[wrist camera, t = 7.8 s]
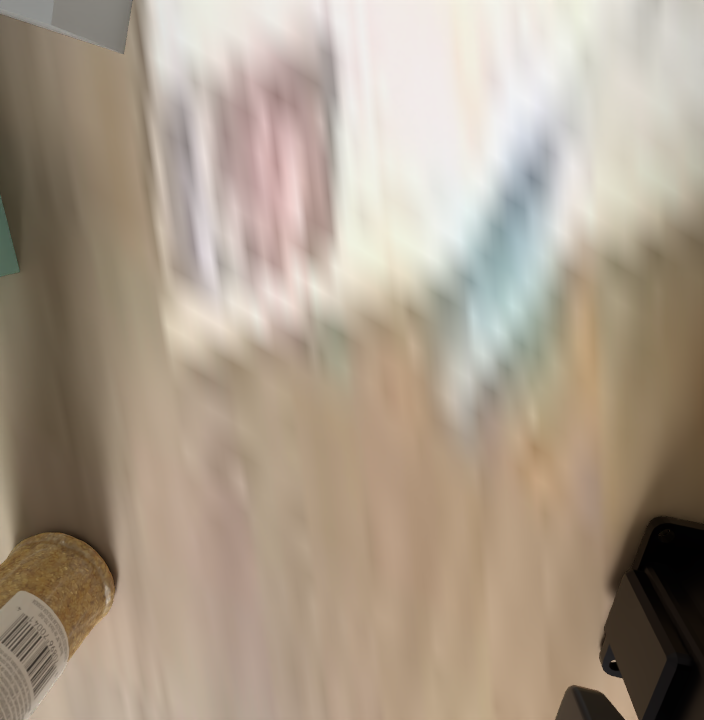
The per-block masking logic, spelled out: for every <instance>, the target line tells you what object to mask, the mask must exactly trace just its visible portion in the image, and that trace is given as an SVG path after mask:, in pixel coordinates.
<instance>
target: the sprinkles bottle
mask: <svg viewBox="0 0 704 720" xmlns="http://www.w3.org/2000/svg"><path fill="white" fill-rule="evenodd" d="M114 593H115V587H114V581H113V578H112V574H111V573H110V571H109V568H108V566H107V565H106V563H105V561H104V560H103V559H102V558H101V557H100V556H99V554H98V553H97V552H96V551H95V550H94V549H93V548H92V547H90V546H89V545H88V544H87V543H85V542H83V541H81V540H79V539H76V538H74V537H72V536H69V535H66V534H64V533H60V532H58V533H50V532H47V533H40V534H37V535H36V536H32V537H30V538H27V539H25V540H23V541H22V542H20V543H19V544H18V545H17V546H16V547H15V548H14V549H13V550H12V551H11V553H10V554H9V556H8V558H7V559H6V560H5V561H4V562H3V563H2V564H1V565H0V720H28V719H29V718H30V717H31V715H32V714H33V712H34V711H35V710H36V708H37V707H38V706H39V704H40V703H41V701H42V700H43V699H44V697H45V696H46V695H47V693H48V692H49V690H50V689H51V688H52V686H53V685H54V683H55V682H56V681H57V679H58V678H59V677H60V675H61V674H62V672H63V671H64V669H65V667H66V665H67V662H68V660H69V659H70V658H71V657H72V655H73V654H74V653H75V651H76V650H77V649H78V647H79V646H80V645H81V643H82V642H83V640H84V639H85V638H86V636H87V635H88V634H89V632H90V631H91V630H92V629H93V627H94V626H95V625H96V624H98V623H99V622H100V621H101V620H102V619H103V617H104V616H106V615H107V613H108V612H109V610H110V608H111V606H112V603H113V598H114Z"/></svg>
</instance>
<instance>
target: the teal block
mask: <svg viewBox="0 0 704 720" xmlns="http://www.w3.org/2000/svg"><path fill="white" fill-rule="evenodd" d="M18 272H20V270H19V266H18V262H17V258H16V254H15V250H14V246H13V242H12V238H11V234H10V230H9V226H8V223H7V219H6V215H5V211H4V207H3V203H2V199H1V195H0V277H1V276H5V275H9V274H14V273H18Z"/></svg>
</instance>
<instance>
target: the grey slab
mask: <svg viewBox="0 0 704 720" xmlns="http://www.w3.org/2000/svg"><path fill="white" fill-rule="evenodd" d="M132 1H133V0H0V14H2V15H5V16H8V17H11V18H14V19H17V20H20V21H23V22H26V23H29V24H33V25H36V26H39V27H42V28H45V29H48V30H51V31H54V32H57V33H60V34H63V35H66V36H69V37H72V38H75V39H79V40H82V41H85V42H88V43H91V44H94V45H97V46H100V47H103V48H106V49H109V50H112V51H115V52H118V53H121V54H124V50H125V43H126V37H127V31H128V25H129V19H130V13H131V7H132Z"/></svg>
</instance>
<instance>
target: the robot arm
mask: <svg viewBox="0 0 704 720" xmlns="http://www.w3.org/2000/svg"><path fill="white" fill-rule="evenodd" d="M665 529H669V530H670V531H669V533H668V534H666V535H664V536H659V533H660V532H661V531H663V530H665ZM604 631H605V634H606V638H605V640H604V643H603V646H602V649H601V651H600V654H599V659H600V662H601V665H602V667H603V670H604V671H605V672H606V673H607V674H609V675H611V676H615V677H619V678H623V680H624V683H625V685H626V688H627V691H628V693H629V696H630V698H631V701H632V704H633V706H634V709H635V711H636V714H637V717H638V719H639V720H704V524H700V523H695V522H690V521H685V520H680V519H676V518H671V517H662V516H661V517H657V518H654V519H653V520H652V521H650V522H649V524H648V526H647V528H646V530H645V533H644V536H643V538H642V541H641V544H640V547H639V549H638V552H637V555H636V557H635V560H634V563H633V565H632V568H631V569H629V570H628V571H627V572H626V573H624V575H623V578H622V580H621V583H620V586H619V589H618V591H617V594H616V597H615V599H614V602H613V605H612V608H611V610H610V613H609V616H608V618H607V621H606V624H605V626H604ZM612 660H616V662H611V661H612ZM555 720H625V719H624V718H623V717H622V716H621V714H620V713H619V712H618V711H617V710H616V708H615V707H614V706H613V705H612V704H611V702H610V701H609V700H608V699H607V698H606V696H605V695H604V694H602V693H601V692H599V691H597V690H593V689H589V688H585V687H581V686H577V685H572V686H570V687H568V689H567V690H566V692H565V694H564V697H563V700H562V702H561V705H560V708H559V710H558V713H557V716H556V719H555Z"/></svg>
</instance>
